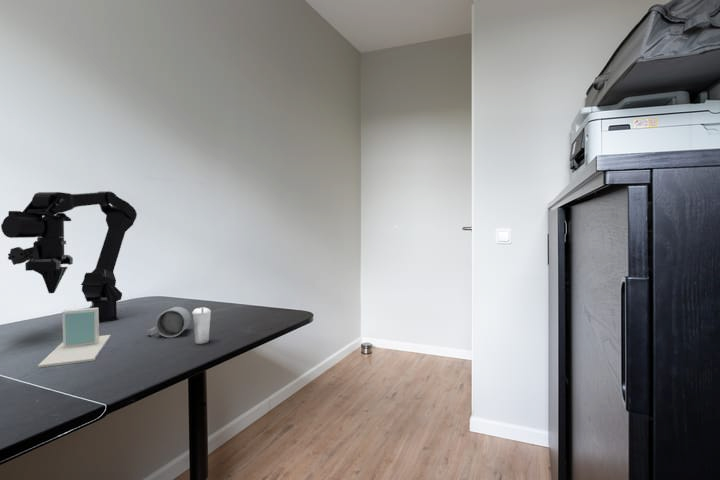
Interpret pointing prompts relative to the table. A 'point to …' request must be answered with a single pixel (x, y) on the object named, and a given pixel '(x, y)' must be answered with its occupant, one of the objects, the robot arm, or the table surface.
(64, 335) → the tile
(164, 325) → the ceramic mug
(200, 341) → the milkshake
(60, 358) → the mat
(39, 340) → the table surface
